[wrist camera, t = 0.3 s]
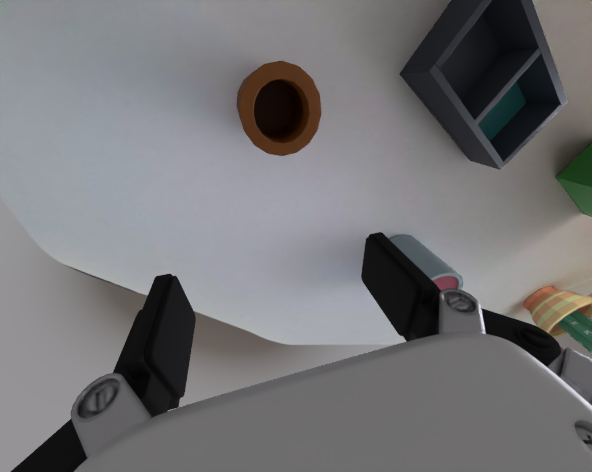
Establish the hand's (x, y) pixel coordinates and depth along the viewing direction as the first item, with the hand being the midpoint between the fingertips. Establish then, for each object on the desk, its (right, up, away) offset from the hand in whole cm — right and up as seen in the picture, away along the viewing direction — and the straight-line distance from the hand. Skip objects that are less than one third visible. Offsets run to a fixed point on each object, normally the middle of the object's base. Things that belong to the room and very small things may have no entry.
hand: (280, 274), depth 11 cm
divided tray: (+22, +21, +17) cm, 35 cm away
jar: (-2, +16, +13) cm, 21 cm away
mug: (+20, -3, +32) cm, 38 cm away
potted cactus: (+70, -16, +54) cm, 90 cm away
